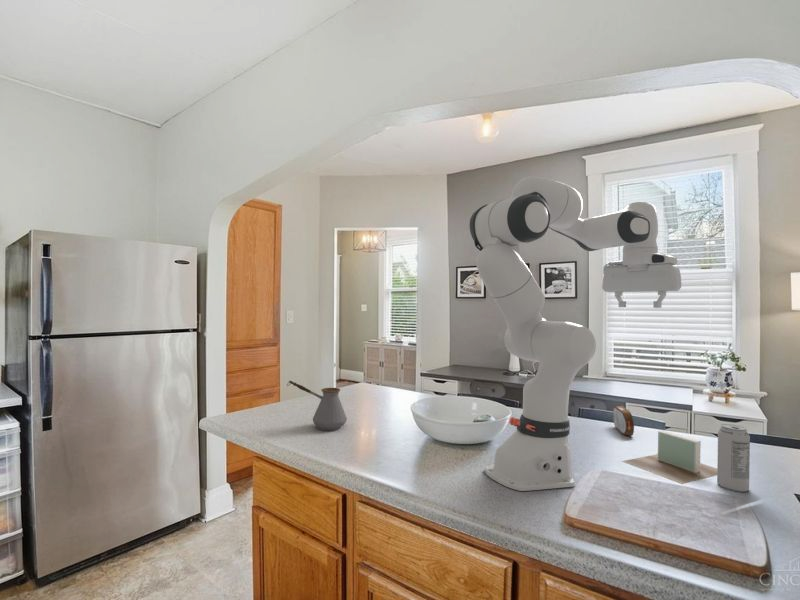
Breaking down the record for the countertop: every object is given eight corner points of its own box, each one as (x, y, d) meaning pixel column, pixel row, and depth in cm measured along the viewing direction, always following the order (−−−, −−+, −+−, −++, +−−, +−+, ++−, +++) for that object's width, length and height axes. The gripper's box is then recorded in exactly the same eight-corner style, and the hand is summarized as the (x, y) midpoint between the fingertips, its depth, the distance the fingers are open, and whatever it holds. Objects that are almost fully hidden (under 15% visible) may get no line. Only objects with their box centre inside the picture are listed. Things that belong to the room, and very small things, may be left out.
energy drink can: (734, 484, 103) (735, 423, 104) (756, 495, 97) (756, 430, 98) (710, 484, 103) (711, 423, 103) (731, 495, 97) (731, 430, 97)
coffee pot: (350, 424, 146) (351, 381, 146) (341, 433, 135) (342, 387, 135) (292, 419, 149) (294, 377, 150) (278, 428, 138) (280, 383, 138)
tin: (634, 438, 139) (635, 413, 140) (624, 438, 140) (625, 412, 140) (620, 426, 154) (620, 403, 154) (611, 425, 155) (611, 403, 155)
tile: (694, 472, 108) (695, 442, 109) (656, 459, 117) (657, 431, 118) (700, 471, 109) (700, 441, 110) (662, 458, 118) (662, 430, 119)
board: (682, 486, 101) (682, 483, 101) (621, 463, 116) (621, 461, 116) (728, 474, 110) (728, 472, 110) (666, 454, 124) (666, 452, 124)
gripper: (598, 261, 127) (598, 306, 127) (675, 255, 111) (675, 307, 111) (608, 263, 131) (607, 307, 131) (683, 258, 115) (683, 308, 115)
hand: (639, 307), depth 120 cm, fingers open, 8 cm apart
